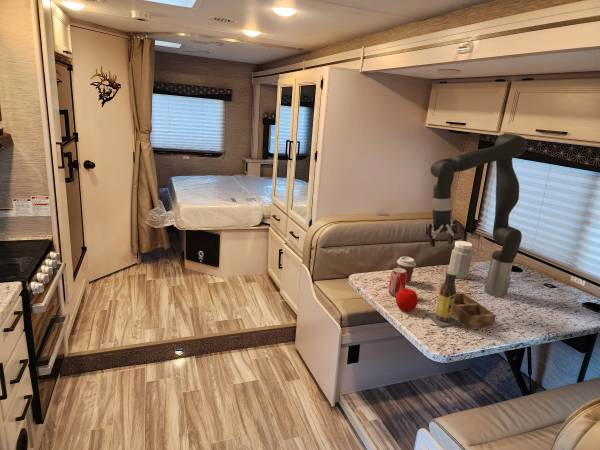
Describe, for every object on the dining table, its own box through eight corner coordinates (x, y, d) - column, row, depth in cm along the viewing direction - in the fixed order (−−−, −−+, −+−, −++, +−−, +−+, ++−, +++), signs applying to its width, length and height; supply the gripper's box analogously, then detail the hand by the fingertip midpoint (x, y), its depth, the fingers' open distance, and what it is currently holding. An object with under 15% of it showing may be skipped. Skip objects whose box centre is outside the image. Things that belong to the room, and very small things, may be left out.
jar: (444, 271, 211) (450, 239, 206) (461, 271, 212) (468, 240, 207) (453, 279, 201) (459, 246, 196) (470, 279, 203) (478, 246, 198)
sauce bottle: (448, 323, 156) (458, 278, 151) (432, 318, 159) (441, 273, 154) (452, 317, 162) (461, 272, 156) (436, 312, 165) (445, 268, 159)
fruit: (398, 301, 173) (401, 280, 170) (418, 307, 169) (422, 286, 166) (391, 309, 166) (394, 287, 163) (412, 316, 161) (416, 294, 158)
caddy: (460, 302, 177) (462, 292, 175) (493, 326, 158) (495, 315, 157) (437, 304, 173) (439, 294, 172) (468, 328, 155) (470, 317, 153)
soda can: (404, 298, 176) (408, 274, 173) (388, 296, 177) (391, 271, 174) (403, 292, 183) (407, 268, 179) (388, 289, 184) (391, 265, 180)
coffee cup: (403, 276, 200) (406, 254, 197) (416, 283, 193) (420, 261, 189) (390, 279, 196) (393, 256, 192) (403, 286, 188) (407, 263, 185)
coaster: (445, 312, 166) (446, 311, 166) (461, 325, 157) (461, 323, 157) (425, 314, 164) (425, 313, 163) (439, 327, 154) (440, 325, 154)
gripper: (432, 211, 162) (432, 249, 165) (462, 207, 166) (461, 245, 169) (422, 209, 169) (422, 245, 172) (450, 205, 173) (450, 241, 176)
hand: (441, 245), depth 171 cm, fingers open, 8 cm apart
